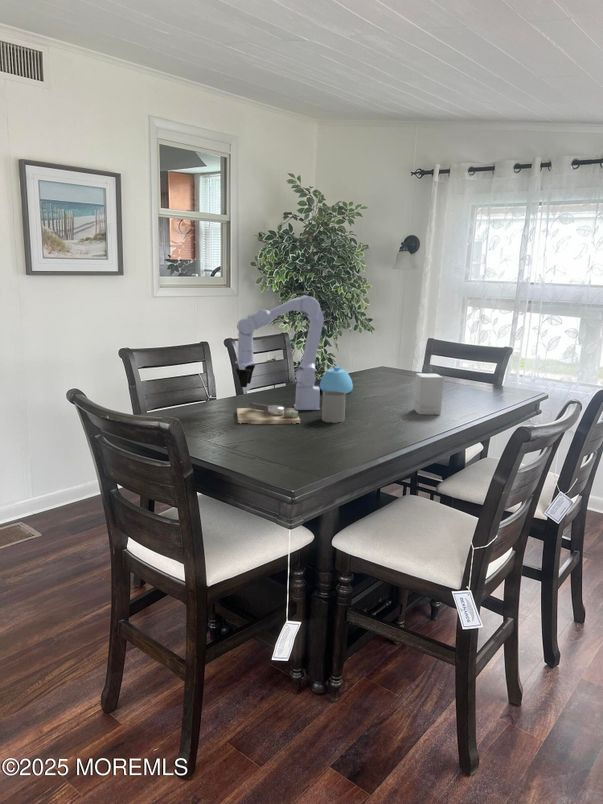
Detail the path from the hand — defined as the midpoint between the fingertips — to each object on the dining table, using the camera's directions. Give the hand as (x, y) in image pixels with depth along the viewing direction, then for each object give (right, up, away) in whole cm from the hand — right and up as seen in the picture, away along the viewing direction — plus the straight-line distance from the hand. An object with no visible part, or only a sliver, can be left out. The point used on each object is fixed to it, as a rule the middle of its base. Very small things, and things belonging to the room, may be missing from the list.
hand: (245, 385), depth 232 cm
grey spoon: (+9, -10, -8) cm, 16 cm away
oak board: (+9, -12, -9) cm, 18 cm away
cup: (+33, -13, -10) cm, 37 cm away
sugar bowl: (+37, -2, +41) cm, 55 cm away
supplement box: (+71, -11, +6) cm, 72 cm away
